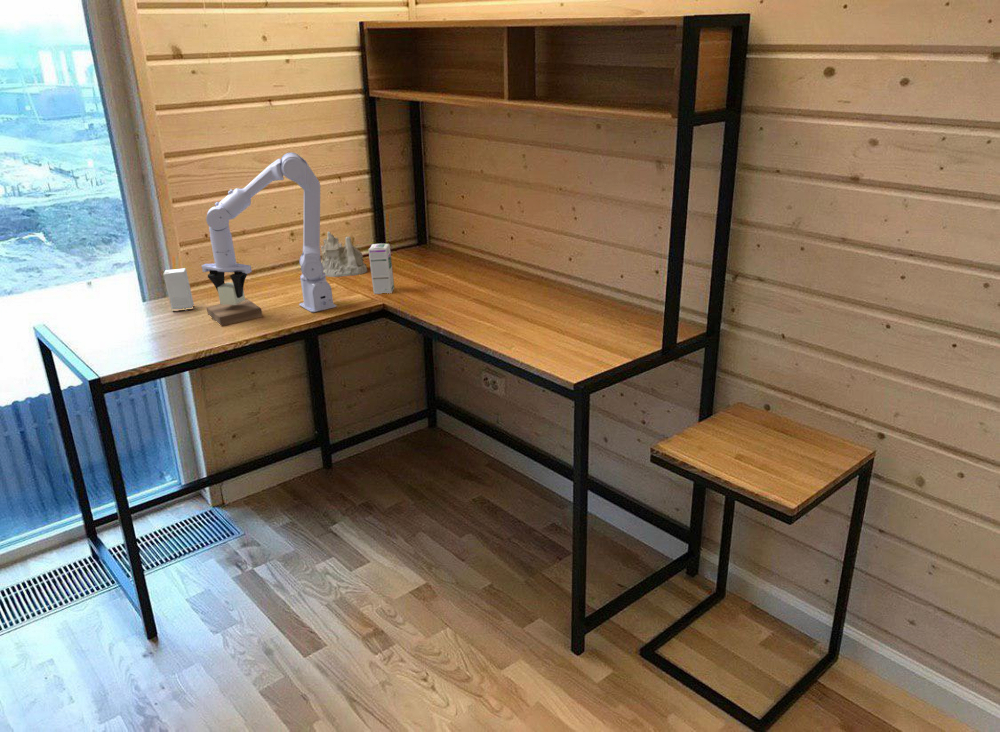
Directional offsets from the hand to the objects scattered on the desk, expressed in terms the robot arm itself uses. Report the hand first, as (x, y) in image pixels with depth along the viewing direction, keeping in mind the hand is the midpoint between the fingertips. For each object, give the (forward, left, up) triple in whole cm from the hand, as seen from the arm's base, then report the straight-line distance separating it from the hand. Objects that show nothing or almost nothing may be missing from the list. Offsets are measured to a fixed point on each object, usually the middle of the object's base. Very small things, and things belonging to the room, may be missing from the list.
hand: (231, 296), depth 229 cm
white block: (0, 0, -2) cm, 2 cm away
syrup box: (-9, -44, -6) cm, 45 cm away
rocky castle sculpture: (+22, -45, -6) cm, 51 cm away
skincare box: (+17, +10, -6) cm, 21 cm away
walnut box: (0, 0, -6) cm, 6 cm away
